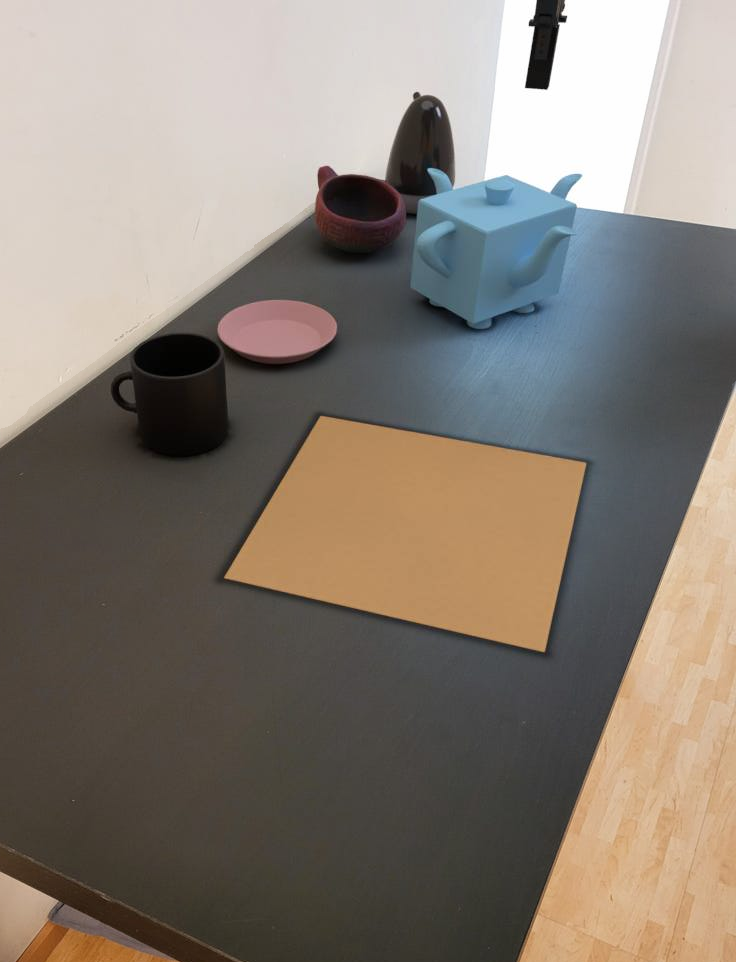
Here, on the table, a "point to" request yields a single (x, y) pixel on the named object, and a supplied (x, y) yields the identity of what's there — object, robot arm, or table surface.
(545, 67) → the robot arm
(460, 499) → the trivet mat
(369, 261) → the table surface
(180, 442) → the mug
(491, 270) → the teakettle
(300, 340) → the plate
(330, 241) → the bowl
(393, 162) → the dark brown tall dome
